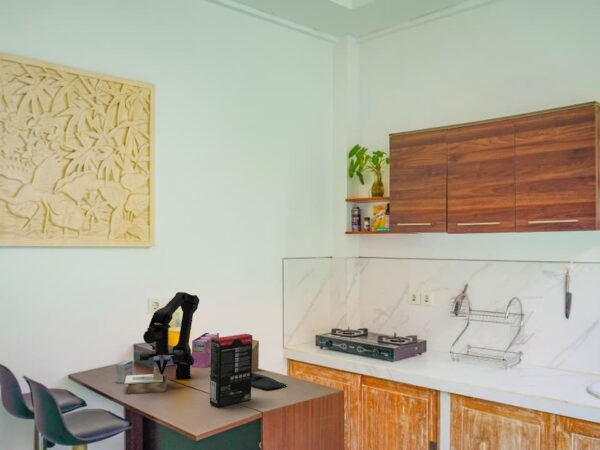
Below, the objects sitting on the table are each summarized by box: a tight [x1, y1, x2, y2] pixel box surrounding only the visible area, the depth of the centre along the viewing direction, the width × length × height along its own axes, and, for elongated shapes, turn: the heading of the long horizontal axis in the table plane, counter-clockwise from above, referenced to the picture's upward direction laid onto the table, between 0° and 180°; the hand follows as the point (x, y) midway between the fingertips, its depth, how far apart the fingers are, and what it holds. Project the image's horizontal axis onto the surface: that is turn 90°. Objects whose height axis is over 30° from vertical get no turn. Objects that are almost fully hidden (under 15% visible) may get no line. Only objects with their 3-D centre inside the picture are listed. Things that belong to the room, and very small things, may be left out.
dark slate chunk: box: [251, 372, 288, 390], centre depth 268 cm, size 15×22×5 cm
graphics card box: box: [209, 333, 253, 408], centre depth 240 cm, size 17×7×27 cm, turn 133°
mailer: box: [127, 375, 167, 395], centre depth 259 cm, size 16×12×4 cm
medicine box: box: [115, 359, 134, 384], centre depth 272 cm, size 8×4×9 cm, turn 168°
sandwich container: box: [252, 339, 260, 373], centre depth 289 cm, size 9×15×15 cm, turn 142°
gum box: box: [191, 332, 220, 369], centre depth 309 cm, size 24×8×14 cm, turn 171°
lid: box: [124, 366, 164, 385], centre depth 259 cm, size 16×12×4 cm
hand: (161, 374), depth 260 cm, fingers closed
